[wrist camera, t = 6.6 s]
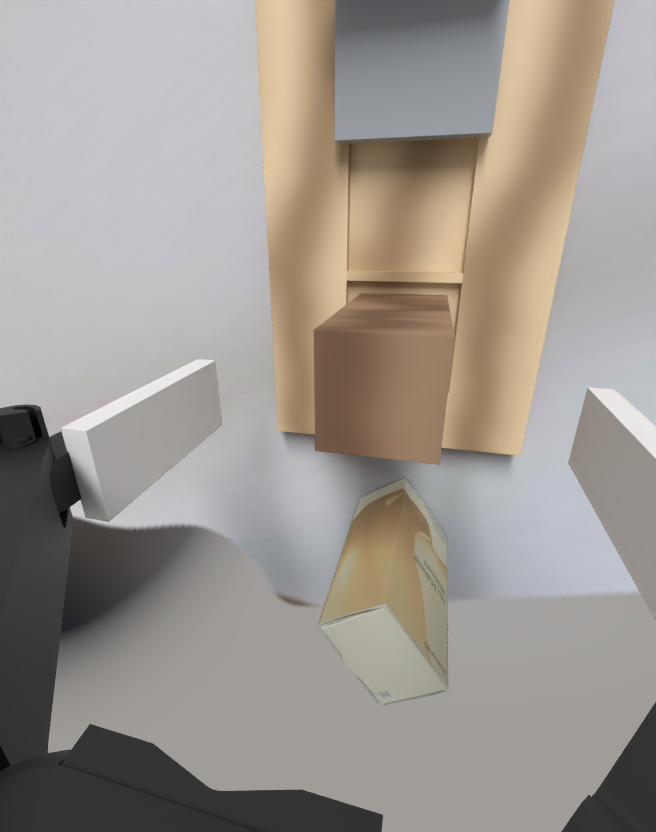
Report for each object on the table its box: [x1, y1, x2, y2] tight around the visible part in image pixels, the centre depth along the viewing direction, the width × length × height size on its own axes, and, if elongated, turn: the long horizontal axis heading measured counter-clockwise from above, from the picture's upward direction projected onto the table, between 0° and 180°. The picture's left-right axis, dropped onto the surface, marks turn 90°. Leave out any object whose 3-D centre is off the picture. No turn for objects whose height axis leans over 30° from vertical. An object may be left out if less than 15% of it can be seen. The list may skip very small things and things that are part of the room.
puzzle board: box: [255, 0, 614, 456], centre depth 24 cm, size 16×25×2 cm, turn 0°
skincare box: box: [318, 478, 448, 706], centre depth 26 cm, size 6×4×12 cm
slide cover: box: [335, 0, 510, 144], centre depth 18 cm, size 7×7×4 cm
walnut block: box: [313, 293, 455, 465], centre depth 21 cm, size 5×5×11 cm
